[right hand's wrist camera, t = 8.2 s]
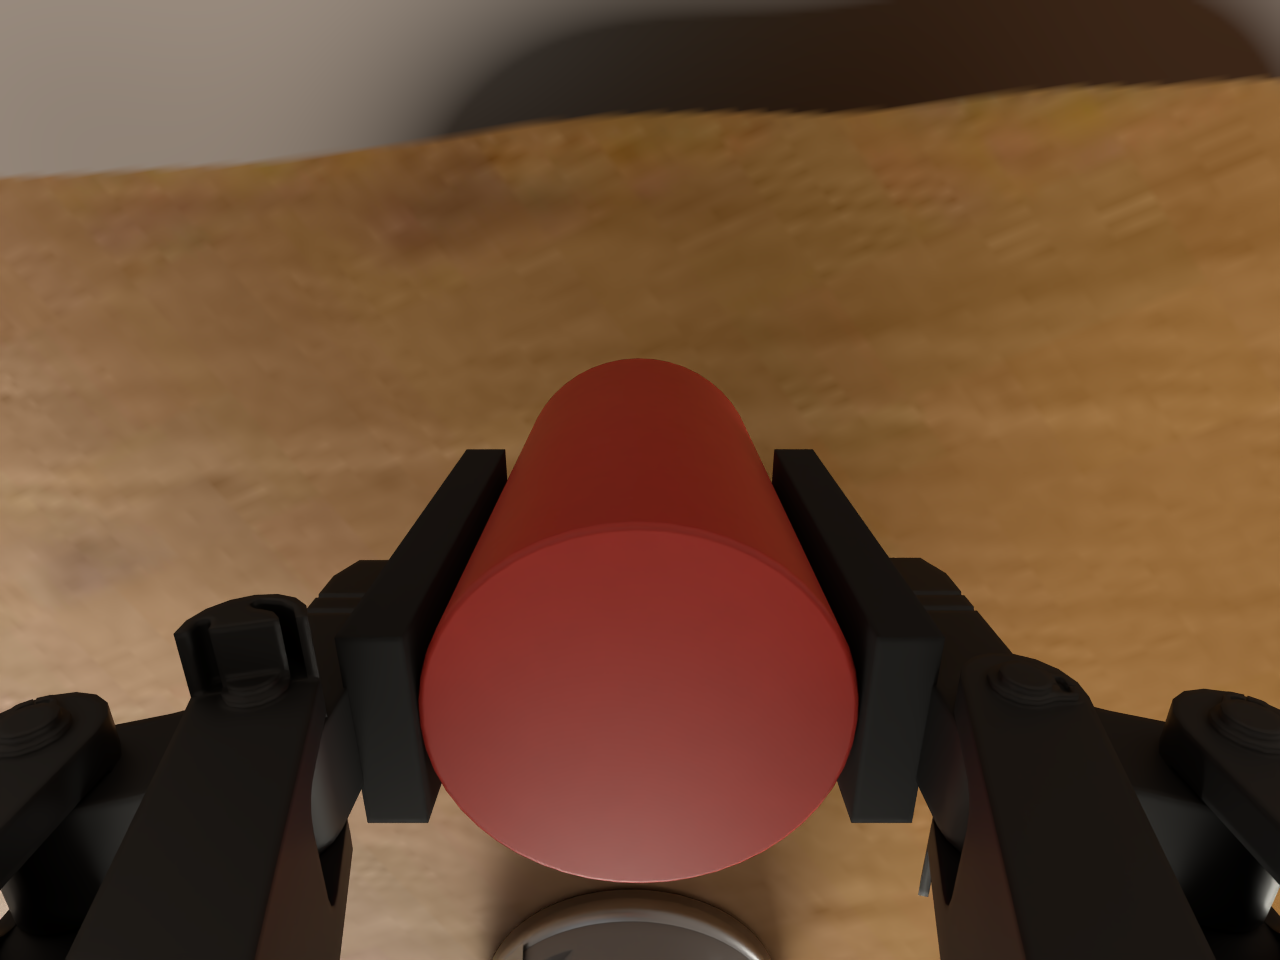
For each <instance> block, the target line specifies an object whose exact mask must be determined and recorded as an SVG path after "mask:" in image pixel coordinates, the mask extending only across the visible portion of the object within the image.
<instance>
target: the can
mask: <svg viewBox="0 0 1280 960" xmlns="http://www.w3.org/2000/svg"><path fill="white" fill-rule="evenodd" d="M418 704H419V716H420V726H421V731H422V735H423V739H424V744H425V748H426V751H427V753H428V756H429V758H430V761H431V763H432V766H433V768H434V770H435V772H436V774H437V776H438V777H439V779H440V781H441V783H442V784H443V786H444V788H445V789H446V791H447V792H448V794H449V795H450V796H451V797H452V799H453V800H454V801H455V802H456V804H457V805H458V806H459V808H460V809H461V810H462V811H463V812H464V813H465V814H466V815H467V816H468V817H469V818H470V819H471V820H472V821H473V822H474V823H475V824H476V825H477V826H478V827H480V828H481V829H482V830H484V831H485V832H486V833H487V834H489V835H490V836H491V837H493V838H494V839H495V840H496V841H498V842H500V843H501V844H503V845H505V846H506V847H508V848H509V849H511V850H513V851H514V852H516V853H518V854H520V855H522V856H524V857H526V858H528V859H530V860H533V861H535V862H537V863H539V864H541V865H544V866H547V867H550V868H553V869H556V870H559V871H561V872H564V873H568V874H572V875H577V876H581V877H585V878H589V879H596V880H604V881H611V882H626V883H651V882H668V881H674V880H681V879H687V878H693V877H697V876H701V875H705V874H709V873H712V872H716V871H719V870H722V869H725V868H727V867H730V866H733V865H736V864H738V863H741V862H743V861H745V860H747V859H749V858H751V857H753V856H755V855H757V854H759V853H761V852H763V851H765V850H766V849H768V848H770V847H771V846H773V845H774V844H776V843H777V842H779V841H781V840H782V839H784V838H785V837H786V836H788V835H789V834H790V833H791V832H792V831H794V830H795V829H796V828H797V827H799V826H800V825H801V824H802V823H803V822H804V821H805V820H806V819H807V818H808V817H809V816H810V815H811V814H812V813H813V812H814V811H815V810H816V809H817V808H818V807H819V806H820V804H821V803H822V802H823V800H824V799H825V798H826V796H827V795H828V794H829V792H830V791H831V790H832V788H833V787H834V785H835V783H836V781H837V779H838V778H839V776H840V774H841V772H842V770H843V768H844V767H845V764H846V761H847V759H848V756H849V753H850V750H851V748H852V745H853V741H854V736H855V731H856V726H857V721H858V706H859V691H858V683H857V675H856V669H855V665H854V662H853V659H852V655H851V652H850V648H849V646H848V644H847V641H846V639H845V637H844V635H843V633H842V631H841V629H840V627H839V624H838V622H837V620H836V618H835V616H834V614H833V612H832V610H831V608H830V605H829V603H828V601H827V599H826V597H825V595H824V593H823V591H822V589H821V586H820V584H819V582H818V580H817V578H816V576H815V574H814V572H813V569H812V567H811V565H810V563H809V561H808V559H807V557H806V555H805V553H804V550H803V548H802V546H801V544H800V542H799V540H798V538H797V536H796V534H795V531H794V529H793V527H792V525H791V523H790V521H789V519H788V517H787V514H786V512H785V510H784V508H783V506H782V504H781V502H780V500H779V498H778V495H777V493H776V491H775V489H774V487H773V485H772V483H771V481H770V479H769V476H768V474H767V472H766V470H765V468H764V466H763V464H762V462H761V460H760V457H759V455H758V453H757V451H756V449H755V447H754V445H753V443H752V440H751V438H750V436H749V434H748V432H747V430H746V428H745V426H744V424H743V421H742V419H741V417H740V415H739V414H738V412H737V411H736V409H735V408H734V406H733V405H732V403H731V402H730V401H729V400H728V398H727V397H726V396H725V395H724V394H723V393H722V392H721V391H720V390H719V389H718V388H717V387H716V386H714V385H713V384H712V383H711V382H710V381H708V380H707V379H705V378H704V377H702V376H701V375H699V374H697V373H695V372H693V371H691V370H689V369H687V368H685V367H682V366H679V365H676V364H673V363H670V362H666V361H660V360H655V359H640V358H636V359H623V360H618V361H613V362H608V363H605V364H602V365H599V366H596V367H594V368H591V369H589V370H587V371H585V372H583V373H581V374H579V375H578V376H576V377H575V378H573V379H572V380H570V381H569V382H568V383H566V384H565V385H564V386H563V387H562V388H561V389H559V390H558V391H557V392H556V393H555V394H554V395H553V397H552V398H551V399H550V400H549V401H548V403H547V404H546V405H545V407H544V408H543V410H542V411H541V413H540V415H539V416H538V418H537V420H536V422H535V424H534V426H533V428H532V430H531V432H530V435H529V437H528V439H527V441H526V443H525V445H524V447H523V449H522V451H521V453H520V455H519V457H518V460H517V462H516V464H515V466H514V468H513V470H512V472H511V474H510V476H509V478H508V480H507V482H506V484H505V487H504V489H503V491H502V493H501V495H500V497H499V499H498V501H497V503H496V505H495V507H494V509H493V512H492V514H491V516H490V518H489V520H488V522H487V524H486V526H485V528H484V530H483V532H482V534H481V536H480V539H479V541H478V543H477V545H476V547H475V549H474V551H473V553H472V555H471V557H470V559H469V561H468V564H467V566H466V568H465V570H464V572H463V574H462V576H461V578H460V580H459V582H458V584H457V586H456V588H455V591H454V593H453V595H452V597H451V599H450V601H449V603H448V605H447V607H446V609H445V611H444V613H443V615H442V618H441V620H440V622H439V624H438V626H437V628H436V630H435V633H434V635H433V637H432V639H431V642H430V644H429V646H428V649H427V651H426V654H425V658H424V662H423V666H422V670H421V674H420V682H419V694H418Z"/></svg>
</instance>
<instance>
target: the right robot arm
mask: <svg viewBox="0 0 1280 960" xmlns="http://www.w3.org/2000/svg"><path fill="white" fill-rule="evenodd" d="M506 482H507V469H506V455H505V449H467V450H466V451H465V453H464V454H463V456H462V457H461V458H460V460H459V461H458V463H457V464H456V465H455V467H454V468H453V470H452V471H451V473H450V474H449V475H448V477H447V478H446V480H445V481H444V482H443V484H442V485H441V487H440V488H439V490H438V491H437V492H436V494H435V495H434V497H433V498H432V499H431V501H430V502H429V504H428V505H427V507H426V508H425V509H424V511H423V512H422V514H421V515H420V517H419V518H418V519H417V521H416V522H415V524H414V525H413V526H412V528H411V529H410V531H409V532H408V534H407V535H406V536H405V538H404V539H403V541H402V542H401V543H400V545H399V546H398V548H397V549H396V551H395V552H394V553H393V555H392V556H391V558H390V559H389V560H359V561H357V562H356V563H354V564H353V565H351V566H349V567H348V568H346V569H344V570H343V571H341V572H339V573H338V574H336V575H334V576H333V577H332V579H331V580H330V581H329V582H328V584H327V585H326V586H325V587H324V588H323V590H322V591H321V592H320V593H319V598H315V599H314V601H313V602H312V603H311V604H310V605H309V607H308V608H307V607H306V605H305V604H304V603H302V602H301V601H300V600H298V599H297V598H295V597H290V596H285V595H280V594H267V595H252V596H248V597H243V598H238V599H233V600H229V601H226V602H224V603H221V604H218V605H215V606H213V607H210V608H207V609H205V610H204V611H202V612H200V613H198V614H197V615H195V616H193V617H192V618H190V619H188V620H187V621H185V622H184V623H183V625H182V626H181V627H180V628H179V629H178V630H177V631H176V632H175V633H174V637H175V641H176V645H177V648H178V652H179V655H180V659H181V663H182V666H183V670H184V674H185V677H186V681H187V685H188V688H189V692H190V695H191V699H190V701H189V703H188V705H187V707H186V709H185V710H184V711H180V712H176V713H173V714H168V715H163V716H158V717H153V718H148V719H143V720H138V721H133V722H128V723H122V724H117V725H115V724H114V721H113V718H112V715H111V712H110V709H109V706H108V703H107V702H106V701H105V700H103V699H102V698H101V697H99V696H98V695H96V694H88V693H80V692H74V693H66V694H58V695H48V696H44V697H39V698H37V699H36V700H33V699H32V700H29V701H26V702H23V703H20V704H18V705H15V706H14V707H13V708H11V709H9V710H7V711H4V712H2V713H0V890H1V891H2V894H3V896H4V898H5V900H6V903H7V905H8V907H9V910H8V911H7V913H6V914H5V915H4V916H3V917H2V918H1V920H0V960H340V953H341V944H342V936H343V927H344V919H345V910H346V902H347V893H348V885H349V876H350V868H351V859H352V851H353V847H352V841H351V834H350V829H349V824H348V819H347V818H348V816H349V814H350V812H351V810H352V808H353V806H354V804H355V801H356V799H357V797H358V795H359V793H360V791H361V789H362V794H363V799H364V805H365V810H366V816H367V821H368V823H428V822H429V819H430V816H431V813H432V810H433V807H434V804H435V801H436V798H437V795H438V792H439V789H440V786H441V784H442V783H441V781H440V779H439V777H438V776H437V774H436V772H435V770H434V768H433V766H432V763H431V761H430V758H429V756H428V753H427V751H426V748H425V744H424V739H423V735H422V731H421V726H420V716H419V704H418V694H419V682H420V674H421V670H422V666H423V662H424V658H425V654H426V651H427V649H428V646H429V644H430V642H431V639H432V637H433V635H434V633H435V630H436V628H437V626H438V624H439V622H440V620H441V618H442V615H443V613H444V611H445V609H446V607H447V605H448V603H449V601H450V599H451V597H452V595H453V593H454V591H455V588H456V586H457V584H458V582H459V580H460V578H461V576H462V574H463V572H464V570H465V568H466V566H467V564H468V561H469V559H470V557H471V555H472V553H473V551H474V549H475V547H476V545H477V543H478V541H479V539H480V536H481V534H482V532H483V530H484V528H485V526H486V524H487V522H488V520H489V518H490V516H491V514H492V512H493V509H494V507H495V505H496V503H497V501H498V499H499V497H500V495H501V493H502V491H503V489H504V487H505V484H506ZM772 485H773V487H774V489H775V491H776V493H777V495H778V498H779V500H780V502H781V504H782V506H783V508H784V510H785V512H786V514H787V517H788V519H789V521H790V523H791V525H792V527H793V529H794V531H795V534H796V536H797V538H798V540H799V542H800V544H801V546H802V548H803V550H804V553H805V555H806V557H807V559H808V561H809V563H810V565H811V567H812V569H813V572H814V574H815V576H816V578H817V580H818V582H819V584H820V586H821V589H822V591H823V593H824V595H825V597H826V599H827V601H828V603H829V605H830V608H831V610H832V612H833V614H834V616H835V618H836V620H837V622H838V624H839V627H840V629H841V631H842V633H843V635H844V637H845V639H846V641H847V644H848V646H849V648H850V652H851V655H852V659H853V662H854V665H855V669H856V675H857V683H858V691H859V706H858V721H857V726H856V731H855V736H854V741H853V745H852V748H851V750H850V753H849V756H848V759H847V761H846V764H845V767H844V768H843V770H842V772H841V774H840V776H839V778H838V779H837V782H838V785H839V788H840V791H841V794H842V797H843V800H844V802H845V805H846V808H847V811H848V814H849V817H850V820H851V823H912V819H913V813H914V808H915V802H916V797H917V791H918V786H919V788H920V791H921V793H922V795H923V797H924V799H925V801H926V803H927V805H928V807H929V809H930V811H931V814H932V816H933V819H932V824H931V829H930V834H929V839H928V845H927V850H926V855H925V860H924V865H923V870H922V875H921V881H920V887H919V894H918V895H922V896H926V897H928V895H929V890H930V885H931V883H932V892H933V900H934V909H935V917H936V926H937V934H938V942H939V951H940V959H941V960H1280V916H1279V915H1278V913H1277V912H1276V911H1275V910H1274V909H1273V908H1272V907H1271V905H1272V903H1273V901H1274V899H1275V896H1276V894H1277V892H1278V890H1279V887H1280V710H1279V709H1277V708H1275V707H1273V706H1270V705H1268V704H1267V703H1266V702H1264V701H1262V700H1259V699H1256V698H1253V697H1250V696H1247V697H1245V696H1244V695H1243V694H1239V693H1234V692H1226V691H1218V690H1210V689H1198V690H1190V691H1184V692H1182V693H1181V694H1179V695H1178V696H1177V697H1175V698H1174V699H1173V700H1172V704H1171V707H1170V710H1169V713H1168V716H1167V719H1166V722H1164V721H1159V720H1154V719H1148V718H1143V717H1138V716H1133V715H1128V714H1123V713H1118V712H1113V711H1108V710H1104V709H1100V708H1096V707H1094V706H1093V704H1092V702H1091V700H1090V698H1089V696H1088V695H1087V694H1086V692H1085V691H1084V690H1083V689H1082V687H1081V686H1080V685H1079V684H1078V682H1076V681H1075V680H1073V679H1072V678H1071V677H1069V676H1068V675H1066V674H1065V673H1063V672H1062V671H1060V670H1059V669H1057V668H1055V667H1052V666H1050V665H1048V664H1045V663H1043V662H1041V661H1038V660H1036V659H1032V658H1028V657H1024V656H1019V655H1015V654H1012V652H1011V651H1010V650H1009V649H1008V648H1007V646H1006V645H1005V644H1004V643H1003V642H1002V640H1001V639H1000V638H999V637H998V635H997V634H996V633H995V632H994V631H993V629H992V628H991V627H990V626H989V625H988V623H987V622H986V621H985V620H984V619H983V617H982V616H981V615H980V614H979V613H978V611H974V607H973V605H972V604H971V603H970V602H969V601H968V599H967V598H966V597H965V596H964V595H961V591H960V590H959V588H958V587H957V586H956V585H955V584H954V582H953V581H952V580H951V579H950V578H949V576H948V575H947V574H946V573H944V572H943V571H941V570H939V569H938V568H936V567H935V566H933V565H931V564H930V563H928V562H926V561H925V560H923V559H921V558H889V557H888V556H887V554H886V553H885V551H884V550H883V548H882V547H881V546H880V544H879V543H878V541H877V540H876V539H875V537H874V536H873V534H872V533H871V531H870V530H869V529H868V527H867V526H866V524H865V523H864V522H863V520H862V519H861V517H860V516H859V514H858V513H857V512H856V510H855V509H854V507H853V506H852V504H851V503H850V502H849V500H848V499H847V497H846V496H845V495H844V493H843V492H842V490H841V489H840V487H839V486H838V485H837V483H836V482H835V480H834V479H833V478H832V476H831V475H830V473H829V472H828V470H827V469H826V468H825V466H824V465H823V463H822V462H821V460H820V459H819V458H818V456H817V455H816V453H815V452H814V451H813V449H774V462H773V476H772ZM492 960H771V958H770V956H769V954H768V952H767V951H766V949H765V947H764V946H763V945H762V943H761V942H760V941H759V939H758V938H757V937H756V936H755V935H754V934H753V933H752V932H751V931H750V930H749V929H748V928H746V927H745V926H744V925H743V924H742V923H740V922H739V921H738V920H736V919H735V918H733V917H732V916H730V915H728V914H727V913H725V912H723V911H721V910H719V909H717V908H715V907H713V906H711V905H708V904H706V903H704V902H701V901H698V900H695V899H692V898H688V897H685V896H681V895H677V894H672V893H666V892H660V891H651V890H633V889H631V890H611V891H601V892H596V893H590V894H585V895H581V896H577V897H573V898H570V899H567V900H564V901H561V902H558V903H556V904H554V905H551V906H549V907H547V908H545V909H543V910H541V911H539V912H537V913H536V914H534V915H532V916H531V917H529V918H528V919H526V920H525V921H524V922H522V923H521V924H520V925H519V926H517V927H516V928H515V929H514V930H513V931H512V932H511V933H510V934H509V935H508V936H507V937H506V938H505V940H504V941H503V942H502V944H501V945H500V946H499V948H498V950H497V951H496V953H495V955H494V957H493V959H492Z"/></svg>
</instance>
